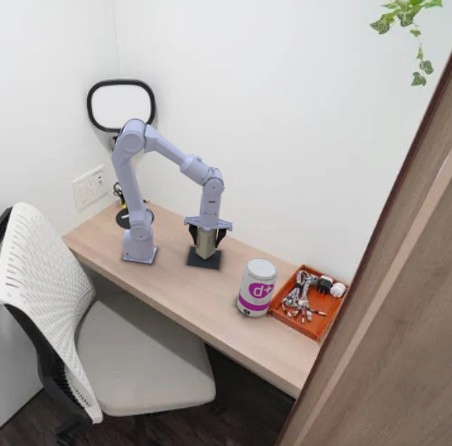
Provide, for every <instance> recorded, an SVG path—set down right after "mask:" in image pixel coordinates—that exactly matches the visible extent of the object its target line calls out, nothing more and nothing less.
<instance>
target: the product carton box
mask: <svg viewBox="0 0 452 446" xmlns="http://www.w3.org/2000/svg"><path fill="white" fill-rule="evenodd" d="M217 236H218V229H211V230H210V231H205V230H203V228H201V227H198V228H197V239H196V245H195V247H196V254H198V255H199V256H201V257H202V258H204V259H206V258H208V257H209V256H211V255H212V254H214V253H215V250H216V248H215V246H216V240H217Z"/></svg>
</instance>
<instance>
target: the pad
mask: <svg viewBox="0 0 452 446" xmlns="http://www.w3.org/2000/svg"><path fill="white" fill-rule="evenodd" d="M221 254H222V250H220V249H219V250H218V249H215V253H214V254H212V255H211V256H209V257H208V258H206V259H204V258H202V257H201V256H199V255H198V254H196V246H190V249H189V253H188V257H187V262H186V266H193V267H197V268H204V269H211V270H215V271H217V270H220V263H221V256H222V255H221Z"/></svg>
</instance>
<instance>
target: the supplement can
mask: <svg viewBox="0 0 452 446" xmlns="http://www.w3.org/2000/svg"><path fill="white" fill-rule="evenodd" d="M278 276H279V273H278V270H277V266H276V264H275V263H273V262H272V261H271V260H269V259H268V258H264V257H253V258H251V259H249V260H248V262H246V264H245V265H244V266H243V272H242V276H241V280H240V287H239V291H238V295H237V301H236V305H237V308H238V309H239V311H240V312H241V313H243V314H244V315H246V316H248V317H251V318H252V317H253V318H260V317H263V316H265V315H266V314H267V313H268V311H269V308H270V305H271V300H272V297H273V294H274V291H275V287H276V284H277V280H278ZM267 310H268V311H267Z"/></svg>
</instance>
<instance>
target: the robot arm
mask: <svg viewBox="0 0 452 446" xmlns="http://www.w3.org/2000/svg"><path fill="white" fill-rule="evenodd" d="M142 151H143V153H144V154H147V153H152V152H157V153H158V154H159V155H161V156H163V157H164V158H166V159H167V160H169V161H171V162H172V163H174V164H175V165H177V166H178V168H179V172H180V173H181V174H182V175H184V176H186V177H187V178H188V179H190V180H191V181H192V182H194V183H195V184H197V185H198V186H201V189H202V190H201V195H200V201H199V202H200V204H199V214H198V215H196V216H184V218H183V226H188V232H189V234H190V236H191V238H192V241H193V246H196V239H197V228H199V227H201V228H203V230H205V231H210V230H211V229H217V239H216V246H215V249H218V247H219V245H220V244H221V241H222V240H223V239H224V238H225V237H226V236H227V231H228V232H233V228H234V222H231V221H227V220H224V219H221V218H220V210H221V202H222V194H223V193H224V192H225V188H226V187H225V182H224V179H223V173H222V172H221V170H220V169H219V168H218V167H216V166H209V165H208V164H207V163H205V162H204V161H203V160H202V158H203V157H201V156H200V155H197V156H196V155H194V154H186V153H184V152H183V151H182V150H181V149H180V148H178V147H177V146H176V145H175V144H173V143H172V142H170V141H169V140H168V139H167V138H166V137H164V135H162V134H161V133H159V132H158V131H157V130H156V129H155V127H154V126H152V125H150V124H148V123H146V122H145V121H144V120H142V119H141V118H139V117H133V118H130V119H128V120H127V121H126V122H125V123H124V124H123V126H122V127H121V128H120V131H119V133H118V136H117V139H116V142H115V144H114V148H113V150H112V153H111V156H110V157H111V158H110V160H111V163H112V166H113V169H114V172H115V175H116V178H117V181H118V184H119V187H120V189H121V193H122V195H123V199H124V202H125V204H126V207H127V210H128V223H129V225H130V228H129V229H126V230H125V231H124V234H123V237H122V249H123V260H124V261H129V262H136V263H142V264H148V265H151V264H153V261H154V258H155V255H156V252H157V250H158V249H157V247H156V246H154V230H153V228H152V221H153V216H154V215H153V213H152V212H151V210H150V209H149V208H148V205H147V204H146V203H145V202H144V200H143V199H144V198H143V196H142V192H141V189H140V186H139V183H138V182H139V181H138V179H137V175H136V173H135V170H134V166H133V163H132V158H133V157H134V156H136V155H138V154H139V153H140V152H142Z"/></svg>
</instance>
